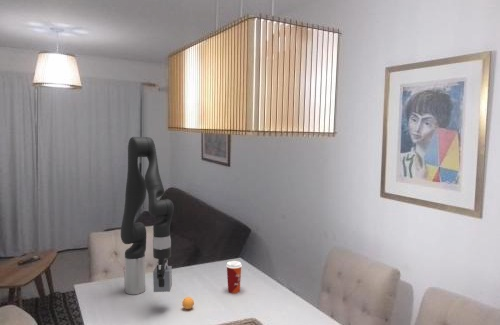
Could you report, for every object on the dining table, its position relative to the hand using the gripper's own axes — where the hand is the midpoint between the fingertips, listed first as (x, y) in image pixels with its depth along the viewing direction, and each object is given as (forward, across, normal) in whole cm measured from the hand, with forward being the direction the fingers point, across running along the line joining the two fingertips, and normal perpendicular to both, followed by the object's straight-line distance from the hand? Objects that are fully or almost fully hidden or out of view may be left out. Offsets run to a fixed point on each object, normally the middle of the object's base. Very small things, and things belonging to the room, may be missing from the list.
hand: (162, 283), depth 170 cm
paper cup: (+12, -18, +31) cm, 38 cm away
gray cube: (+2, 0, 0) cm, 2 cm away
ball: (+9, 0, +11) cm, 14 cm away
